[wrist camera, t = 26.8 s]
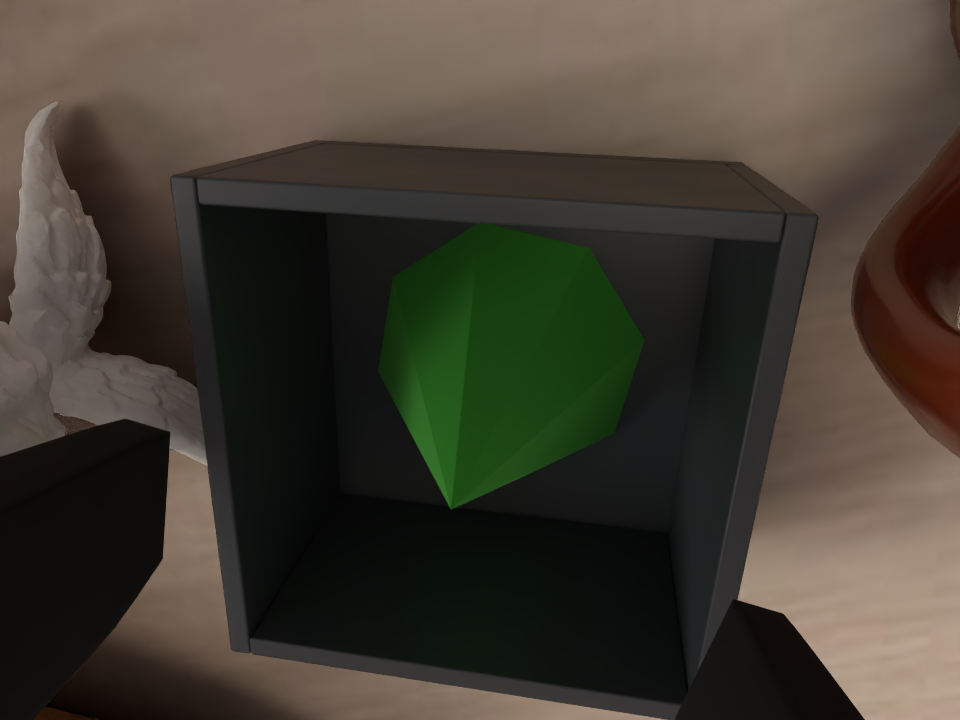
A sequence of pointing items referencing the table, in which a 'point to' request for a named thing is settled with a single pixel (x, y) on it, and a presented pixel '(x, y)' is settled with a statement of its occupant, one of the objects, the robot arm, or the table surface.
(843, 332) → the table surface
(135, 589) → the robot arm
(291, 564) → the bin
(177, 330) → the table surface
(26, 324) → the angel figurine
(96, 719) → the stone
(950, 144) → the mug
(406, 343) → the gemstone
